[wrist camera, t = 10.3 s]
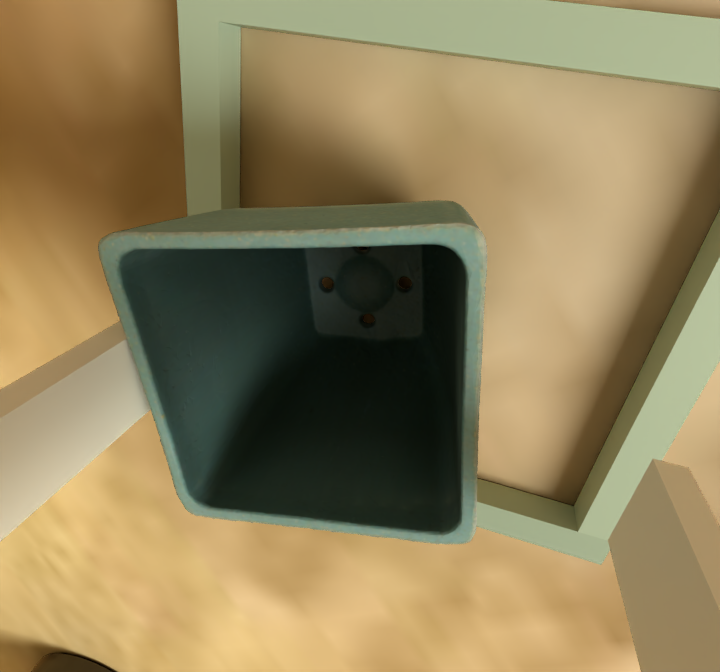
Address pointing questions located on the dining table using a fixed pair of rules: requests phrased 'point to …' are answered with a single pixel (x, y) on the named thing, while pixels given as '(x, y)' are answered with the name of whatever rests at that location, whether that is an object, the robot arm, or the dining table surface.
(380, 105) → the dining table surface
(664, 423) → the bay
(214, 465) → the flower pot
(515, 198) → the dining table surface
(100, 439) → the robot arm
